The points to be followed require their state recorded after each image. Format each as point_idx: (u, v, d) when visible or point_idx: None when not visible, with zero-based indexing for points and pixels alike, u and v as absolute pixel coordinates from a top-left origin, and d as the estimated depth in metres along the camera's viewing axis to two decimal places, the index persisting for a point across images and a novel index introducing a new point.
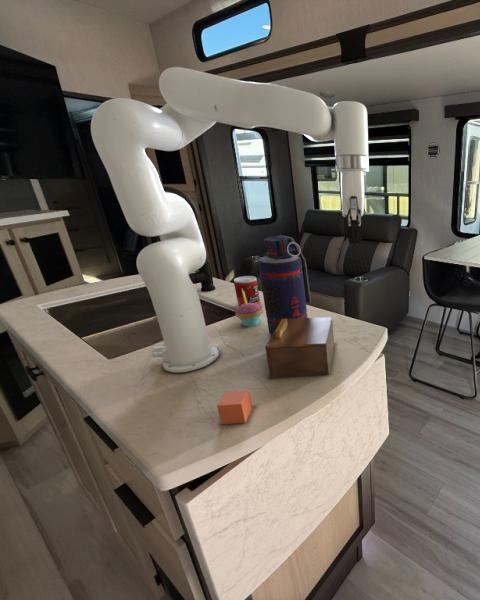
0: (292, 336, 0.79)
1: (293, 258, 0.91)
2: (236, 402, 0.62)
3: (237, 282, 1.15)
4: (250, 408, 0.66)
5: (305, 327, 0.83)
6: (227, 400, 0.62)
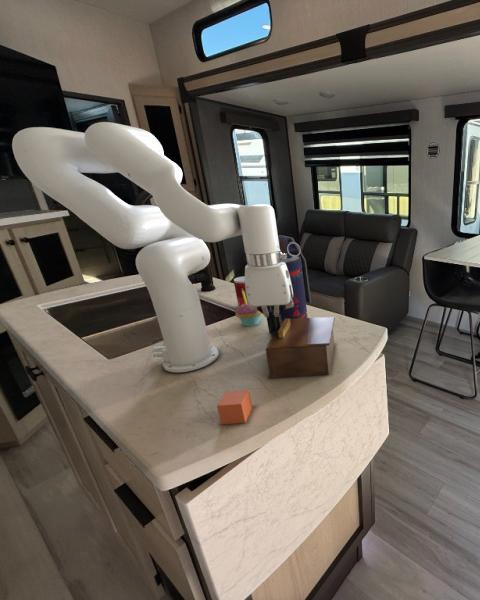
0: (295, 336, 0.79)
1: (293, 258, 0.91)
2: (236, 402, 0.62)
3: (237, 282, 1.15)
4: (250, 408, 0.66)
5: (308, 327, 0.84)
6: (227, 400, 0.62)
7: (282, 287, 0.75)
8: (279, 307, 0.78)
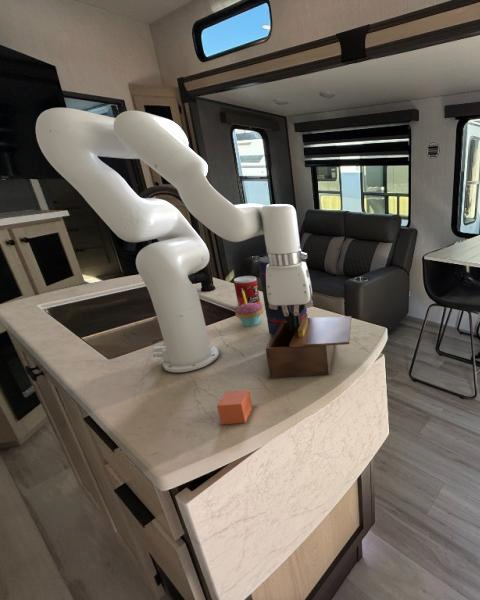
0: (315, 335, 0.79)
1: None
2: (236, 402, 0.62)
3: (237, 282, 1.15)
4: (250, 408, 0.66)
5: (326, 326, 0.84)
6: (227, 400, 0.62)
7: (302, 286, 0.76)
8: (299, 306, 0.79)
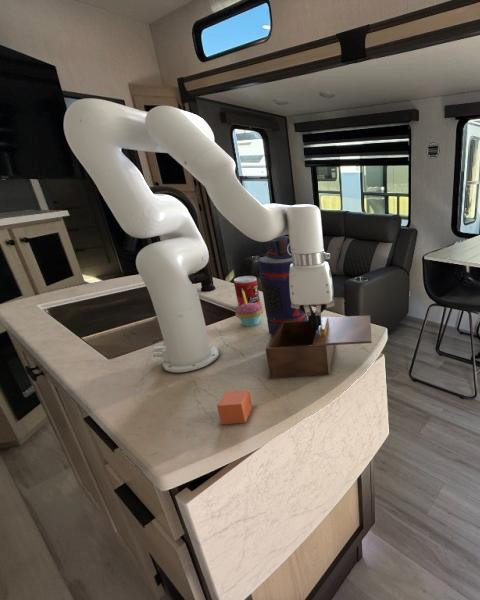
0: (336, 334, 0.80)
1: None
2: (236, 402, 0.62)
3: (237, 282, 1.15)
4: (250, 408, 0.66)
5: (346, 325, 0.85)
6: (227, 400, 0.62)
7: (325, 286, 0.77)
8: (321, 306, 0.79)
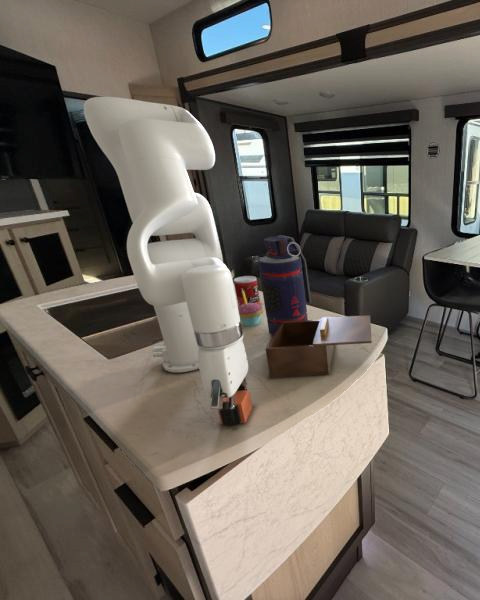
0: (336, 334, 0.80)
1: (293, 258, 0.91)
2: (236, 402, 0.62)
3: (237, 282, 1.15)
4: (250, 408, 0.66)
5: (346, 325, 0.85)
6: (227, 400, 0.62)
7: (245, 353, 0.64)
8: None
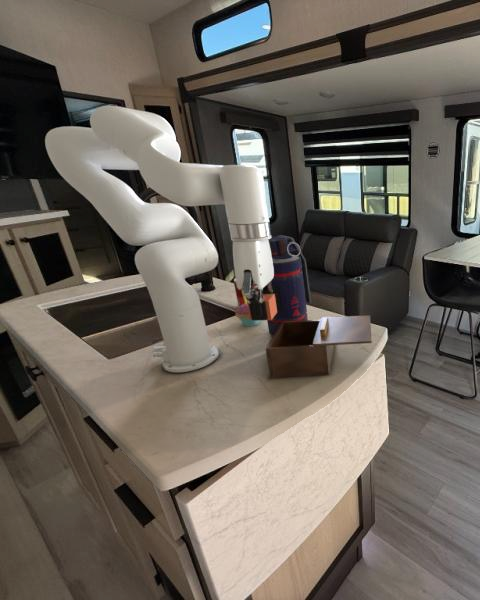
0: (336, 334, 0.80)
1: (293, 258, 0.91)
2: (263, 299, 0.68)
3: None
4: (275, 311, 0.71)
5: (346, 325, 0.85)
6: None
7: (271, 258, 0.70)
8: None
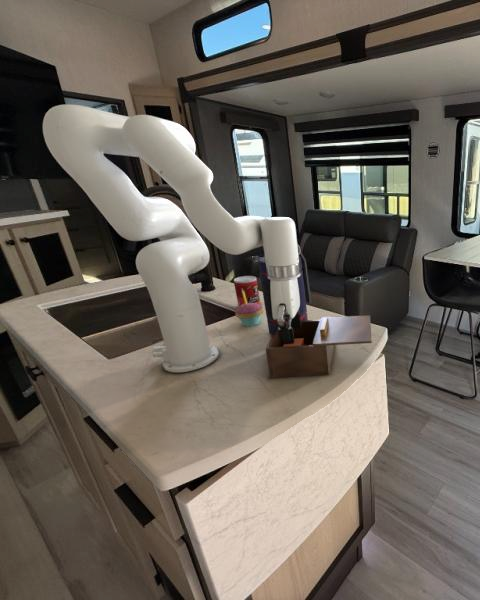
0: (336, 334, 0.80)
1: None
2: (296, 344, 0.82)
3: (237, 282, 1.15)
4: None
5: (346, 325, 0.85)
6: (289, 344, 0.82)
7: (298, 290, 0.82)
8: None
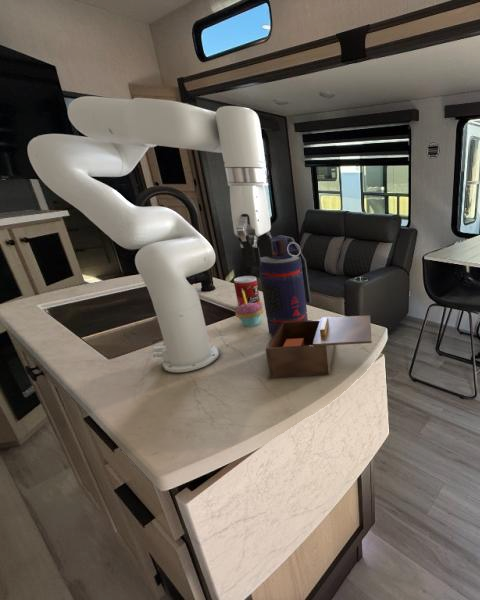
0: (336, 334, 0.80)
1: (293, 258, 0.91)
2: (296, 344, 0.82)
3: (237, 282, 1.15)
4: None
5: (346, 325, 0.85)
6: (289, 344, 0.82)
7: (268, 210, 0.70)
8: None
